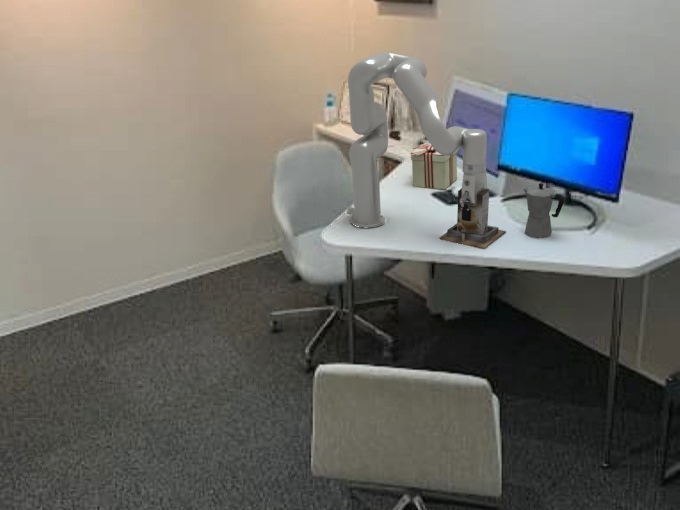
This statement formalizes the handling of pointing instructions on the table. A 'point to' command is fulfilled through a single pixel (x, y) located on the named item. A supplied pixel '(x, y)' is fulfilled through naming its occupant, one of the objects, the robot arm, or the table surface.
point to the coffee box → (475, 215)
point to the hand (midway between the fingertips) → (473, 215)
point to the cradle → (473, 237)
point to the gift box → (433, 168)
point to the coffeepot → (541, 211)
